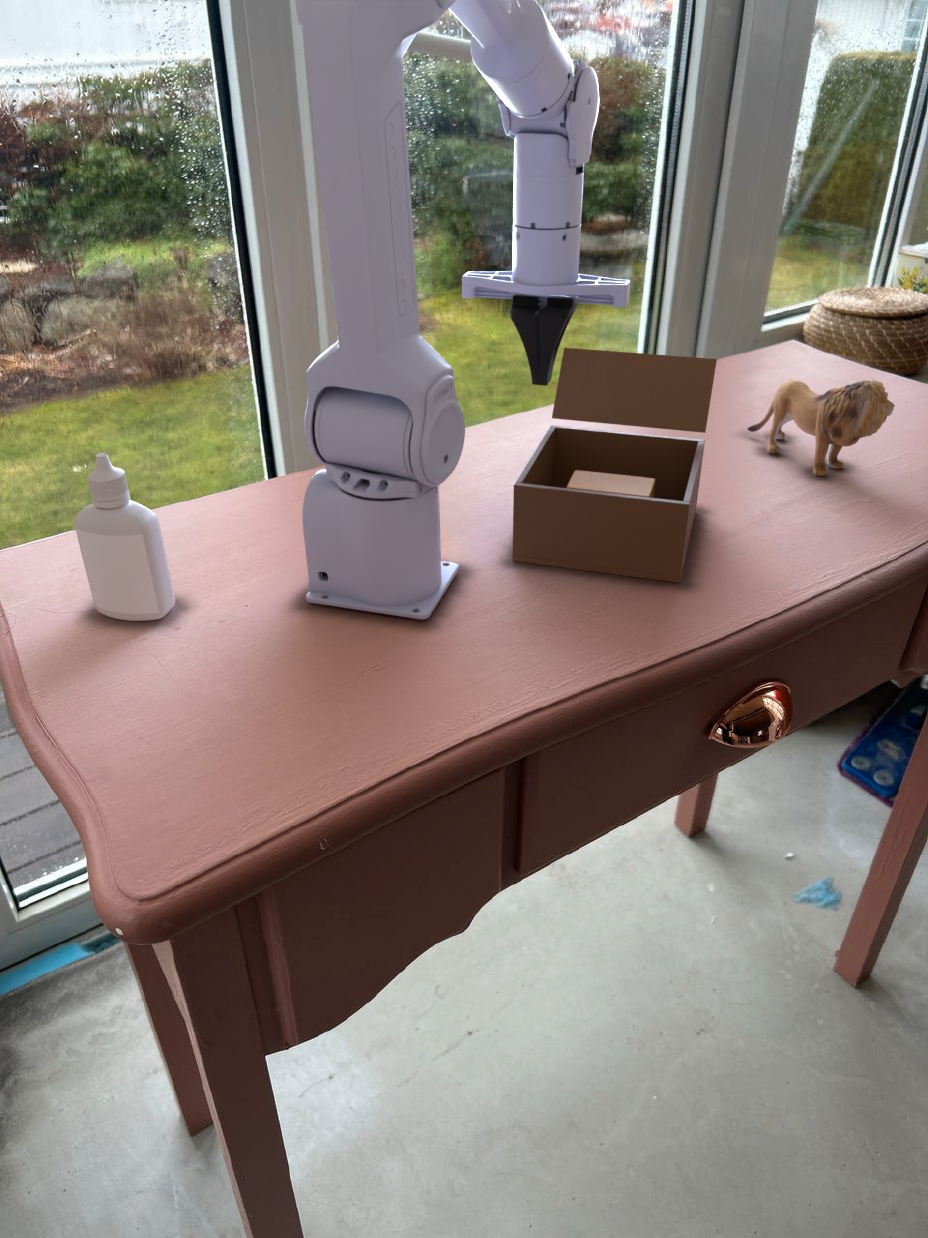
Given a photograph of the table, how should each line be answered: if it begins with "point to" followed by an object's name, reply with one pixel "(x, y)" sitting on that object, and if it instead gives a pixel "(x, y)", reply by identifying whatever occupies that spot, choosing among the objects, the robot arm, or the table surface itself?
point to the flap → (635, 389)
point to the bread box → (608, 504)
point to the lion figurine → (828, 416)
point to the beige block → (612, 483)
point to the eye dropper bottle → (122, 550)
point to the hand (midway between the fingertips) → (541, 381)
